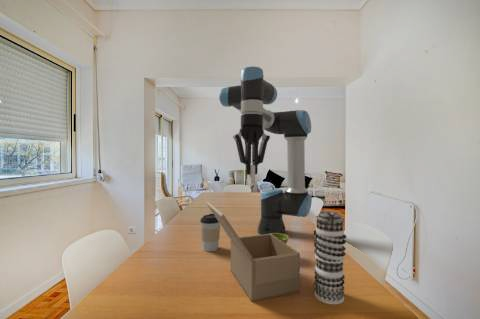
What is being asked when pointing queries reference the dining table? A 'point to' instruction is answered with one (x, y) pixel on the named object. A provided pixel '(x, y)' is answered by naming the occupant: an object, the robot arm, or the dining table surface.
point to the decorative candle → (329, 258)
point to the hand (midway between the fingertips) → (251, 184)
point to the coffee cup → (210, 232)
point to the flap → (228, 229)
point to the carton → (266, 267)
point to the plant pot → (281, 237)
